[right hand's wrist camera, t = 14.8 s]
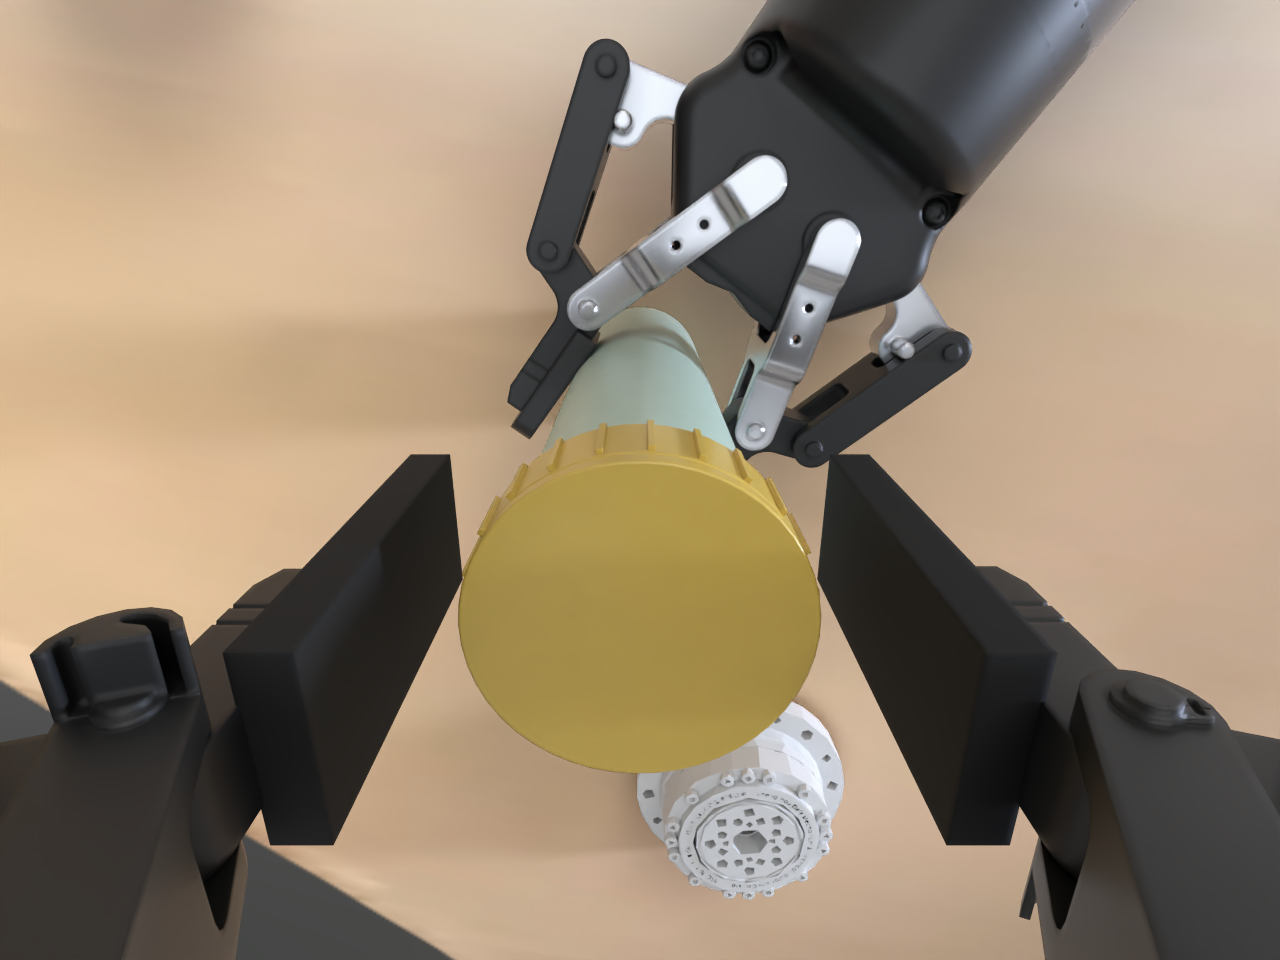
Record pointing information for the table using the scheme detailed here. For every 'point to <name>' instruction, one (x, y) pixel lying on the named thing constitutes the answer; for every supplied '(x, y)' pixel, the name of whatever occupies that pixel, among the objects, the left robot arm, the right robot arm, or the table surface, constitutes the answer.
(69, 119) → the table surface
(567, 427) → the jar
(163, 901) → the right robot arm
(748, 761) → the mechanical component
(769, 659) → the lid
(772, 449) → the left robot arm
